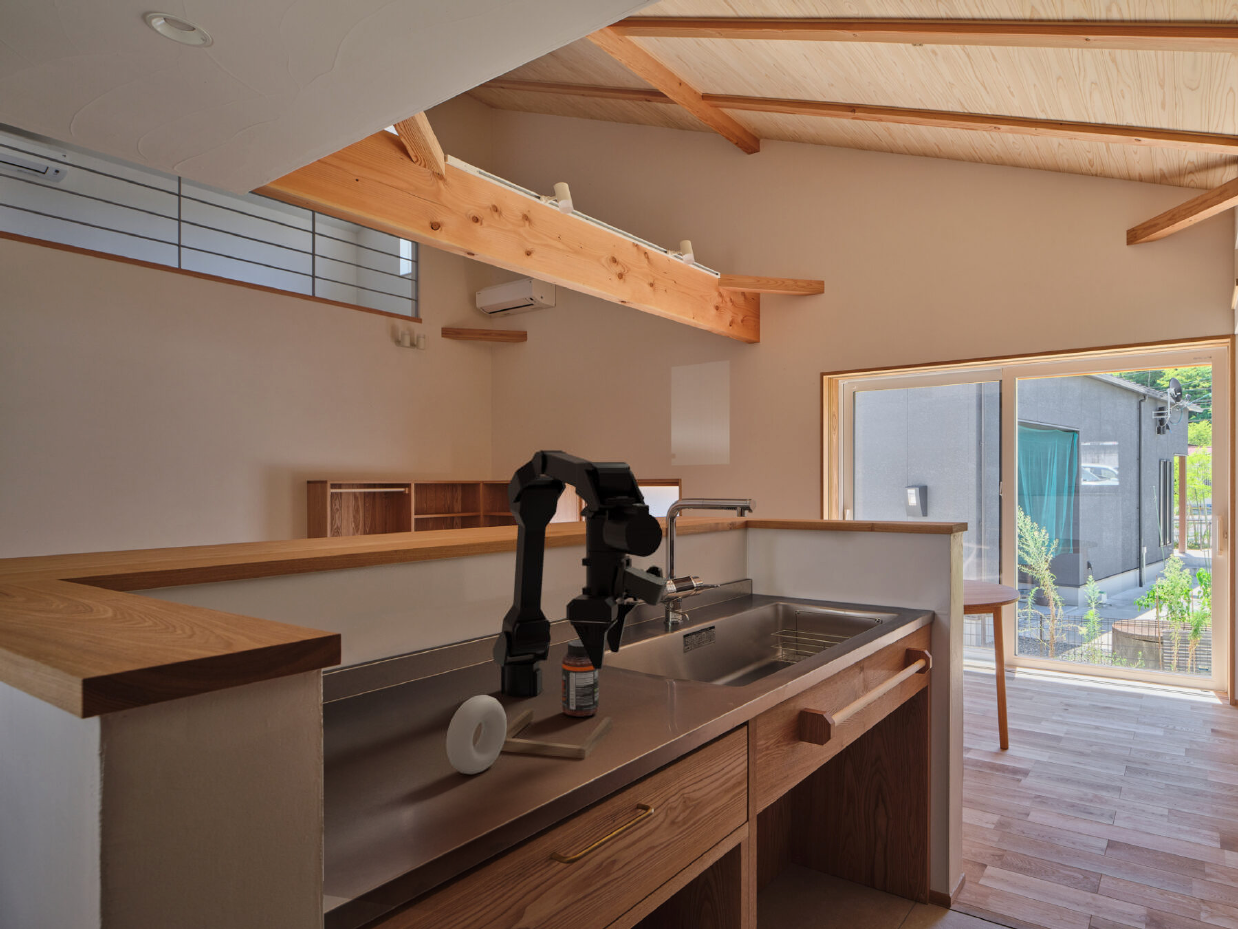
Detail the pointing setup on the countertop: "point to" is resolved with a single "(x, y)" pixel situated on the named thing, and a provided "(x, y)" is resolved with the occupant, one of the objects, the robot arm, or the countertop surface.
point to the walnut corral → (548, 747)
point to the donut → (463, 730)
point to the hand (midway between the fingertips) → (606, 660)
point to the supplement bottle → (579, 682)
